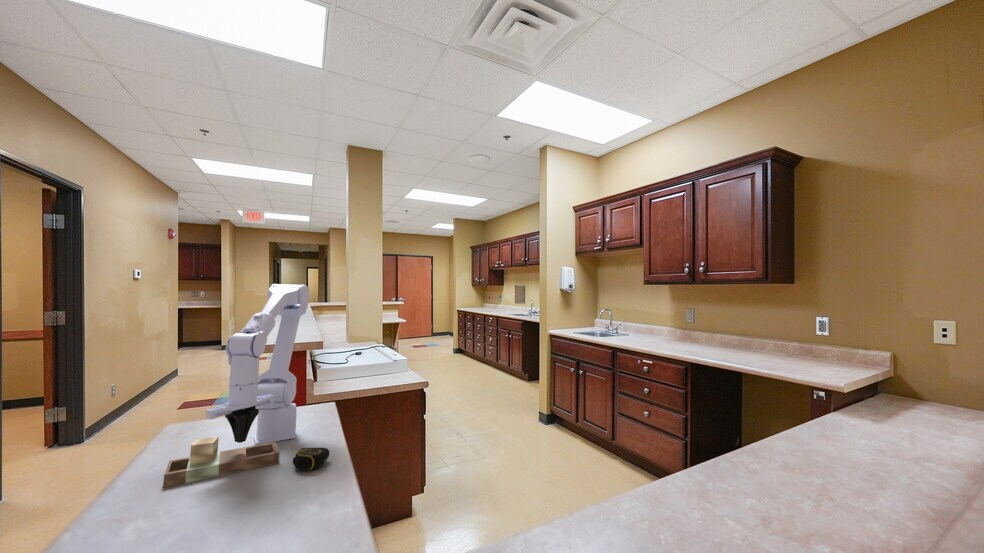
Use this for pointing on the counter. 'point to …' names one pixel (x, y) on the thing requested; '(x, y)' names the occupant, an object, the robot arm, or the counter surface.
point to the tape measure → (310, 458)
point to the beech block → (204, 450)
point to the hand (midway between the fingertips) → (240, 441)
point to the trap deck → (221, 464)
